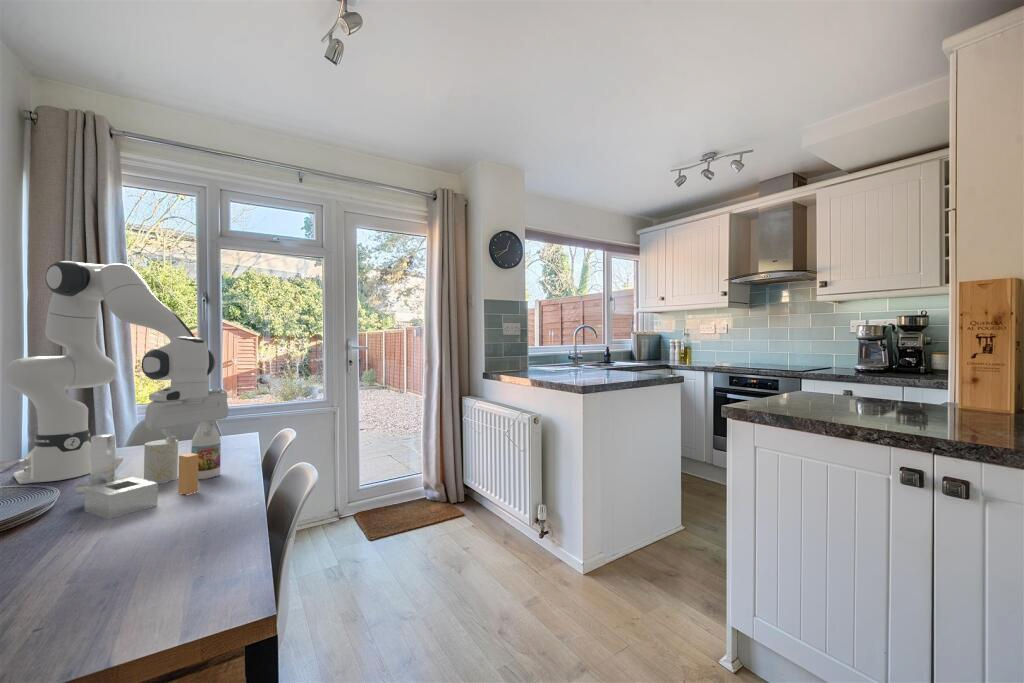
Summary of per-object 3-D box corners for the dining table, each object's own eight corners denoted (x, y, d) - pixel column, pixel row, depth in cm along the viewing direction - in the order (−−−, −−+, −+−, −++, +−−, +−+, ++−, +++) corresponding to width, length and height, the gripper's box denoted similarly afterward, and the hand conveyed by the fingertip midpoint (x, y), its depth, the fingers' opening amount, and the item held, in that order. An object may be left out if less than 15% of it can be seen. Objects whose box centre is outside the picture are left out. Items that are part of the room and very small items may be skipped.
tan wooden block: (178, 493, 119) (178, 455, 119) (189, 489, 122) (190, 452, 122) (186, 495, 117) (187, 457, 118) (198, 492, 120) (198, 454, 120)
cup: (147, 486, 125) (148, 446, 125) (140, 480, 130) (141, 442, 130) (180, 479, 131) (181, 441, 131) (173, 474, 136) (173, 438, 136)
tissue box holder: (67, 505, 109) (69, 437, 110) (115, 493, 119) (116, 430, 119) (108, 519, 101) (110, 446, 101) (157, 505, 110) (158, 438, 110)
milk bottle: (185, 477, 133) (186, 416, 133) (212, 471, 139) (213, 412, 140) (198, 481, 129) (199, 418, 129) (225, 475, 136) (226, 414, 136)
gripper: (220, 388, 131) (220, 431, 130) (141, 395, 112) (141, 445, 112) (233, 388, 128) (233, 433, 128) (154, 396, 109) (154, 448, 109)
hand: (189, 439), depth 120 cm, fingers open, 8 cm apart
